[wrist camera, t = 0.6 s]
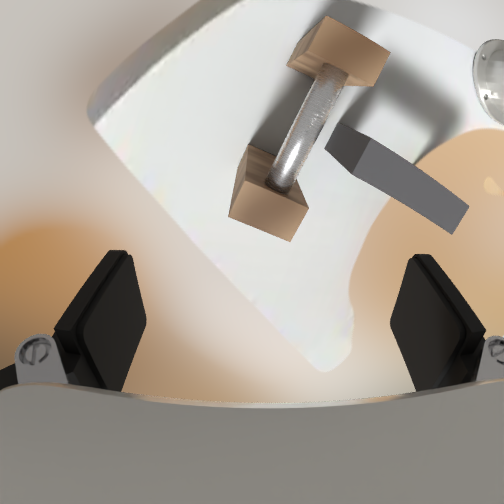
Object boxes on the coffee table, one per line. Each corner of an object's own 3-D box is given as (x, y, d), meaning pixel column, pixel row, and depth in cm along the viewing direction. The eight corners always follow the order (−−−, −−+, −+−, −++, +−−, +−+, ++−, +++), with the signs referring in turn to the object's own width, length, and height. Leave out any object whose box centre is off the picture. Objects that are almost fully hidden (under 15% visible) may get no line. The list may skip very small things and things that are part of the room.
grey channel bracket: (422, 173, 35) (469, 206, 26) (409, 196, 37) (452, 234, 27) (338, 122, 33) (371, 138, 23) (324, 148, 34) (351, 174, 25)
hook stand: (338, 63, 29) (390, 52, 17) (277, 184, 37) (290, 242, 24) (297, 43, 28) (326, 15, 16) (237, 167, 36) (228, 216, 23)
